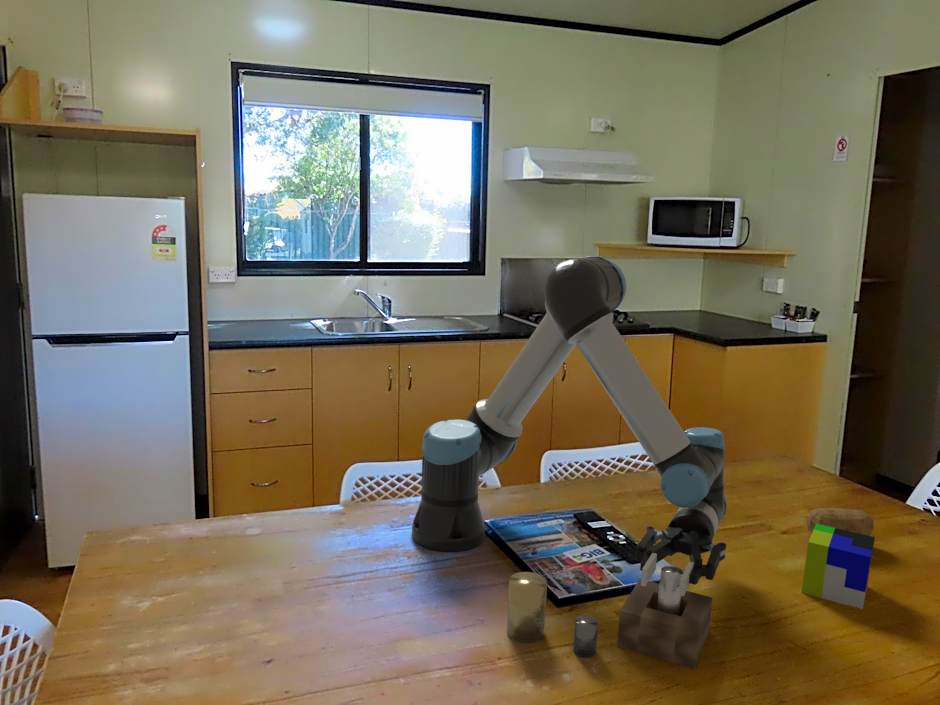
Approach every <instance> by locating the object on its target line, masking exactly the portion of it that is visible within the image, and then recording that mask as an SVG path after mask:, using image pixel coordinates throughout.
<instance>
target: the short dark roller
mask: <svg viewBox="0 0 940 705" xmlns="http://www.w3.org/2000/svg"><path fill="white" fill-rule="evenodd" d="M598 629H599V621H598V620H597V619H596V618H595V617H593V616H591V615H579V616H577V617H575V620H574V632H573V647H572V648H573V649H572V651H573V653H574V655H576V656H578V657H580V658H584V659H587V658H589V659H591V658H593V657H594V656H596V654H597V645H598V644H597V643H598Z"/></svg>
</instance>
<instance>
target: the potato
mask: <svg viewBox="0 0 940 705" xmlns="http://www.w3.org/2000/svg"><path fill="white" fill-rule="evenodd" d="M816 524H820V525H824V526H829V527H833V528H837V529H842V530H846V531H850V532H855V533H859V534H863V535H868V536H871V534H872V533H873V531H874V528H875V527H874V526H875V523H874V519H873V517H872V516H871V515H870V514H868V513H866V512H865V511H862V510H859V509H856V508H855V509H853V508H851V509H849V508H840V507H828V508H827V507H825V508H823V507H820V508H815V509H812V510H811V511H810V512H809V513H808V515H807V519H806V526H807V530H808V532H810V535H811V534H812V532H813V530H814V527H815V525H816Z"/></svg>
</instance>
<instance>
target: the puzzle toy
mask: <svg viewBox="0 0 940 705" xmlns="http://www.w3.org/2000/svg"><path fill="white" fill-rule="evenodd" d="M874 545H875V536H871V535H869V536H868V535H863V534H859V533H855V532H850V531H846V530H842V529H837V528H833V527H829V526H824V525H820V524H816V525H815V527H814V530H813V532H812V534H811V533H810V536H809V539H808V542H807V549H806V558H805V565H804V571H803V572H804V573H803V580H802V587H801V593H802V594H805V593H806V595H809V596H812V595H813V597H817V598H819V599H823V600H827V601H830V600H831V602H834V601H835V602H834V603H837V604H841V605H842V604H843V605H845V604H846V606H848V605H850V606H849V607H852V606H853V608H856V607H857V609H859V608H860V610H863V609H864V605H865V601H866V600H865V599H866V595H867V592H868V591H867V589H868V585H869V578H870V572H871V565H872V559H873V551H874Z"/></svg>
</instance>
